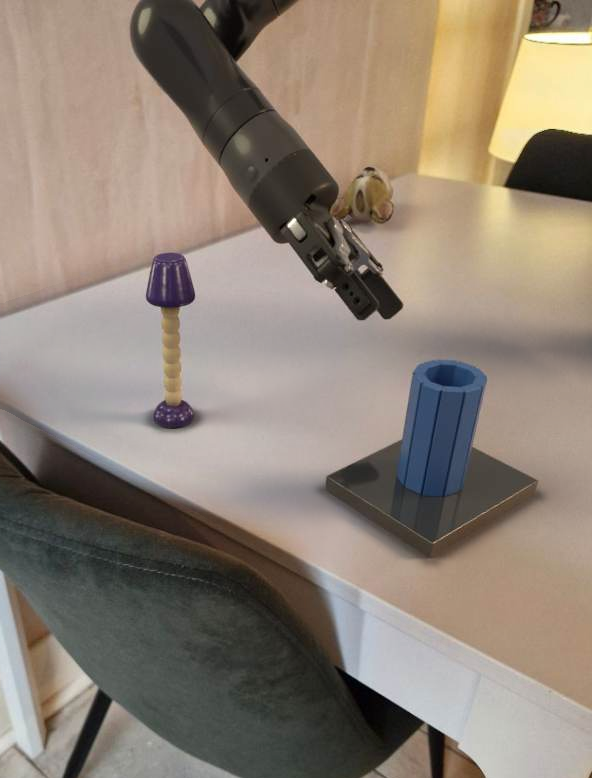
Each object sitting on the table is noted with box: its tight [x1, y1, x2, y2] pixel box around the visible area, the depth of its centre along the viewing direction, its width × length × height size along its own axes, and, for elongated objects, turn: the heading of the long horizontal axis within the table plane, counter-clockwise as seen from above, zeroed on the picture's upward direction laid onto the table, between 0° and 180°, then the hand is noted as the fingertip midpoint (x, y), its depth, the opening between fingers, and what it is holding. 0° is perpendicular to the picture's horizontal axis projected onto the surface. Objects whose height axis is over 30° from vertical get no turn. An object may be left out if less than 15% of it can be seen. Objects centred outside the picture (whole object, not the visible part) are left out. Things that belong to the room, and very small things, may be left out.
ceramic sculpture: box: [330, 164, 395, 225], centre depth 130 cm, size 11×9×15 cm
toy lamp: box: [145, 252, 196, 429], centre depth 74 cm, size 5×5×17 cm
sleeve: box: [397, 359, 488, 497], centre depth 64 cm, size 6×6×10 cm
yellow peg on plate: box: [324, 439, 539, 558], centre depth 65 cm, size 14×12×9 cm
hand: (383, 314), depth 69 cm, fingers open, 8 cm apart
